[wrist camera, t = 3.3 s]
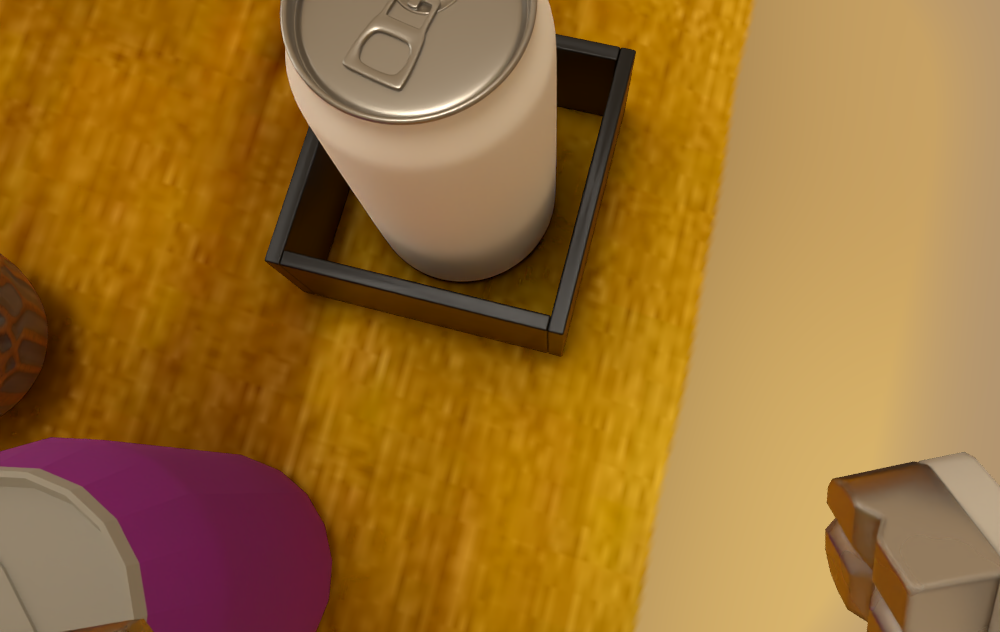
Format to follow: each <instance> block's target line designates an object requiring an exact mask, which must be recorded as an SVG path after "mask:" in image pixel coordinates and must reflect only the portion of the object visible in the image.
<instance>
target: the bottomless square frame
mask: <svg viewBox="0 0 1000 632" xmlns="http://www.w3.org/2000/svg"><path fill="white" fill-rule="evenodd" d="M555 36H556V62H557V106H562V107H566V108H571V109H576V110H580V111H585V112H589V113H594V114H599V115H603V118H602V122H601V126H600V130H599V134H598V137H597V141H596V145H595V149H594V153H593V157H592V161H591V164H590V168H589V172H588V176H587V180H586V184H585V188H584V191H583V195H582V199H581V203H580V207H579V211H578V215H577V218H576V222H575V226H574V230H573V234H572V238H571V242H570V245H569V249H568V253H567V257H566V261H565V265H564V269H563V272H562V276H561V280H560V284H559V288H558V292H557V296H556V299H555V303H554V307H553V311H552V315H551V316H549V315H546V314H542V313H538V312H534V311H530V310H526V309H522V308H518V307H513V306H509V305H505V304H501V303H497V302H493V301H489V300H485V299H481V298H477V297H473V296H469V295H465V294H461V293H457V292H453V291H449V290H445V289H440V288H436V287H432V286H428V285H424V284H420V283H416V282H412V281H408V280H404V279H400V278H396V277H392V276H388V275H384V274H380V273H376V272H372V271H367V270H363V269H359V268H355V267H351V266H347V265H343V264H339V263H335V262H331V261H327V257H328V254H329V251H330V248H331V245H332V242H333V238H334V235H335V232H336V229H337V226H338V223H339V220H340V216H341V213H342V210H343V207H344V204H345V201H346V198H347V194H348V191H349V188H350V187H349V185H348V184H347V182H346V181H345V179H344V178H343V176H342V175H341V173H340V172H339V170H338V169H337V167H336V166H335V164H334V163H333V161H332V160H331V158H330V157H329V155H328V154H327V152H326V151H325V149H324V148H323V146H322V144H321V143H320V141H319V140H318V138H317V137H316V135H315V134H314V132H313V131H312V129H311V127H310V126H309V128H308V131H307V134H306V137H305V140H304V143H303V146H302V149H301V152H300V155H299V158H298V161H297V164H296V167H295V170H294V173H293V176H292V179H291V182H290V185H289V188H288V191H287V194H286V197H285V200H284V203H283V206H282V209H281V212H280V215H279V218H278V221H277V224H276V227H275V230H274V233H273V236H272V239H271V242H270V245H269V248H268V251H267V254H266V257H265V261H266V262H267V263H268V264H269V265H271V266H272V267H273V268H274V269H276V270H277V271H278V272H279V273H281V274H282V275H283V276H285V277H286V278H287V279H288V280H290V281H291V282H292V283H293V284H295V285H296V286H297V287H298V288H300V289H301V290H302V291H304V292H307V293H311V294H316V295H319V296H323V297H327V298H331V299H335V300H339V301H343V302H347V303H351V304H355V305H359V306H363V307H367V308H371V309H375V310H379V311H382V312H386V313H390V314H394V315H398V316H402V317H406V318H410V319H414V320H418V321H422V322H426V323H430V324H434V325H438V326H442V327H446V328H450V329H454V330H458V331H462V332H466V333H470V334H474V335H478V336H482V337H486V338H490V339H493V340H497V341H501V342H505V343H509V344H513V345H517V346H521V347H525V348H529V349H533V350H537V351H541V352H545V353H549V354H553V355H557V356H562V355H563V351H564V347H565V343H566V339H567V335H568V331H569V327H570V323H571V320H572V316H573V312H574V308H575V304H576V300H577V296H578V292H579V288H580V284H581V280H582V276H583V272H584V268H585V264H586V260H587V257H588V253H589V249H590V245H591V241H592V237H593V233H594V229H595V225H596V221H597V217H598V213H599V209H600V205H601V201H602V198H603V194H604V190H605V186H606V182H607V178H608V174H609V170H610V166H611V162H612V158H613V154H614V150H615V146H616V142H617V138H618V135H619V131H620V127H621V123H622V119H623V115H624V111H625V106H626V101H627V96H628V91H629V85H630V80H631V75H632V70H633V65H634V59H635V54H636V51H635V50H631V49H626V48H621V49H620V47H617V46H612V45H607V44H602V43H597V42H592V41H587V40H583V39H578V38H573V37H568V36H563V35H558V34H555Z"/></svg>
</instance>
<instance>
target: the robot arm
mask: <svg viewBox="0 0 1000 632" xmlns="http://www.w3.org/2000/svg"><path fill="white" fill-rule="evenodd" d="M827 504H828V506H829V507H830V509H831V510H832V512H833V514H834V516H835V519H834V520H833V521H832V522H831V524H830V525H829V526H828V527H827V528H826V529H825V530H826V532H825V535H826V536H825V540H826V541H825V543H826V544H825V546H826V547H825V550H826V554H827V559H828V563H829V568H830V572H831V575H832V577H833V580H834V582H835V585H836V588H837V590H838V592H839V594H840V596H841V598H842V600H843V602H844V604H845V605H846V607H847V609H848V610H849V611H851V612H853V613H854V614H856V615H857V616H859V617H860V618H862V619H864V620H865V621H867V622H868V626H867V632H1000V486H999V485H998V484H997V482H996V481H995V480H994V479H993V478H992V477H991V475H990V474H989V473H988V472H987V471H986V470H985V469H984V467H983V466H982V465H981V464H980V463H979V462H978V461H977V459H976V458H975V457H973V456H971V455H969V454H967V453H966V452H962V453H957V454H952V455H947V456H942V457H937V458H932V459H927V460H922V461H919V462H910V463H905V464H900V465H896V466H891V467H886V468H882V469H877V470H872V471H867V472H863V473H858V474H853V475H848V476H844V477H839V478H834V479H832V480H831V482H830V484H829V486H828V493H827ZM63 632H154V631H153V630H152V629H151V627H150V626H149V625H148V623H147V622H146V621H145V620H144V619H134V620H127V621H122V622H116V623H110V624H104V625H98V626H92V627H87V628H81V629H75V630H69V631H63Z"/></svg>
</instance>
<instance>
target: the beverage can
mask: <svg viewBox="0 0 1000 632" xmlns="http://www.w3.org/2000/svg"><path fill="white" fill-rule="evenodd" d="M331 570H332V558H331V553H330V548H329V544H328V539H327V534H326V529H325V525H324V523H323V521H322V520H321V518H320V516H319V514H318V513H317V511H316V509H315V508H314V506H313V504H312V502H311V501H310V499H309V497H308V495H307V494H306V493H305V492H304V491H303V490H302V489H300V488H299V487H298V486H297V485H296V484H295V483H294V482H293V481H291V480H290V479H289V478H288V477H287V476H286V475H285V474H283V473H282V472H281V471H279V470H277V469H274V468H272V467H270V466H267V465H265V464H262V463H260V462H257V461H255V460H252V459H250V458H247V457H245V456H242V455H237V454H227V453H218V452H209V451H199V450H190V449H181V448H172V447H162V446H153V445H144V444H135V443H125V442H116V441H107V440H92V439H72V438H53V437H51V438H47V439H43V440H40V441H36V442H32V443H29V444H25V445H22V446H18V447H14V448H11V449H7V450H4V451H0V632H63V631H69V630H75V629H81V628H87V627H92V626H98V625H104V624H110V623H116V622H122V621H127V620H134V619H144V620H145V621H146V622H147V623H148V625H149V626H150V627H151V629H152V630H153V631H154V632H316V630H317V628H318V625H319V623H320V620H321V618H322V615H323V613H324V610H325V608H326V605H327V603H328V600H329V592H330V581H331Z"/></svg>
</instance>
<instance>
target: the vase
mask: <svg viewBox="0 0 1000 632" xmlns="http://www.w3.org/2000/svg"><path fill="white" fill-rule="evenodd" d="M47 344H48V324H47V318H46V314H45V310H44V307H43V305H42V303H41V300H40V298H39V296H38V295H37V293H36V291H35V289H34V287H33V286H32V285H31V283H30V282H29V281H28V279H27V278H26V277H25V276H24V275H23V273H22V272H21V271H20V270H19V269H18V268H17V267H16V266H15V265H14V264H13V263H11V262H10V261H9V260H8V259H7V258H6V257H4V256H3V255H2V254H0V416H2V415H3V414H5V413H6V412H8V411H9V410H10V409H12V408H13V407H14V406H15V405H16V404H17V403H18V402H19V401H20V400H21V399H22V398H23V397H24V396H25V394H26V393H27V392H28V391H29V389H30V388H31V386H32V385H33V383H34V382H35V380H36V378H37V376H38V374H39V372H40V370H41V368H42V365H43V362H44V359H45V355H46V351H47Z"/></svg>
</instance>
